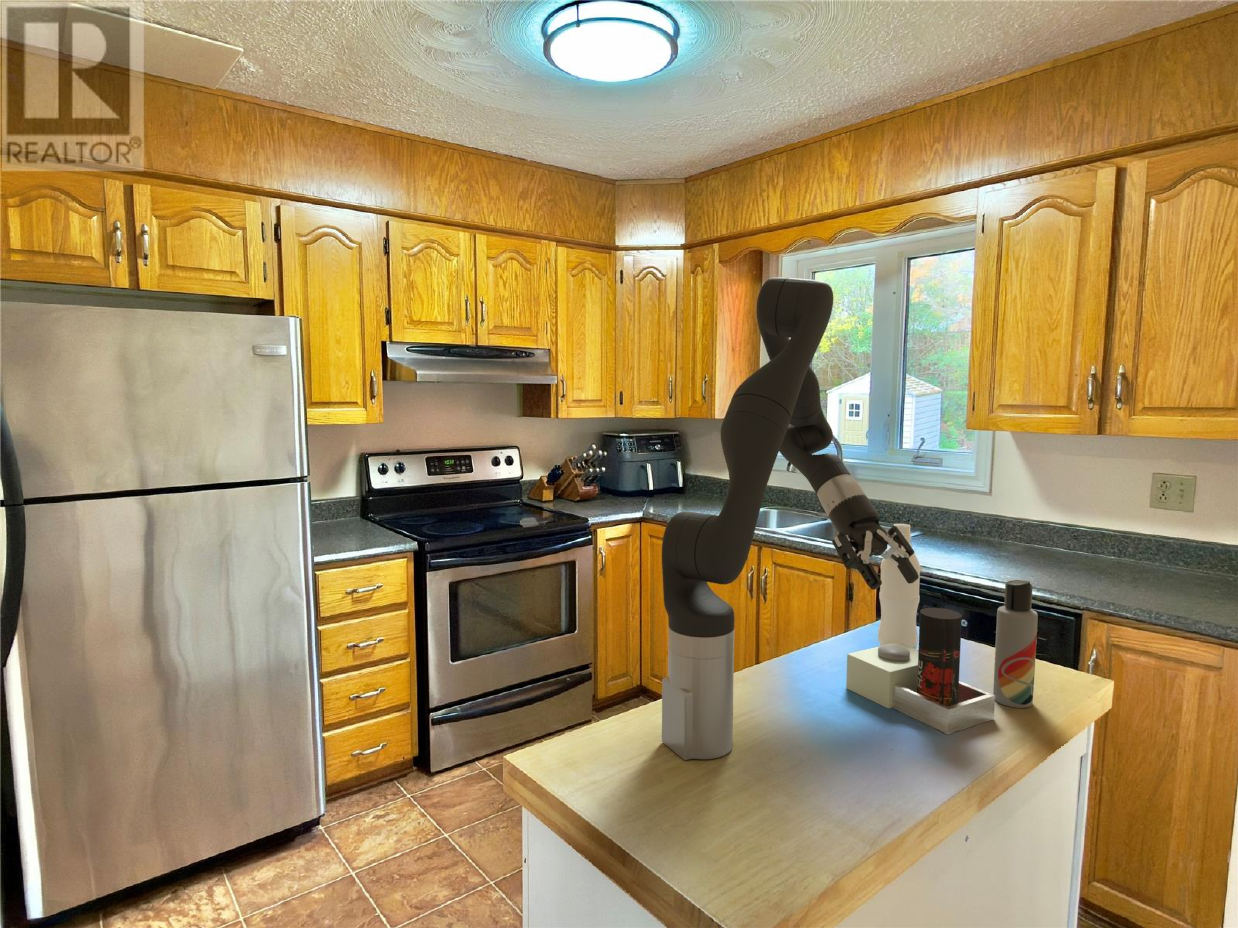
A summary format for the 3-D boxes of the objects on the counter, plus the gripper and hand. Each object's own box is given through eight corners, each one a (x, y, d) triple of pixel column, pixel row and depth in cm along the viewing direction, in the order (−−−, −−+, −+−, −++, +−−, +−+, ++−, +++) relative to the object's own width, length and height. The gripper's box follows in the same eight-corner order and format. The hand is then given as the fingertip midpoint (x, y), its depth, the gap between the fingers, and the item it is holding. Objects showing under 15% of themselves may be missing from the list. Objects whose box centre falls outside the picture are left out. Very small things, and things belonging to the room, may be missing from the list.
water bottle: (905, 662, 133) (910, 530, 130) (870, 652, 138) (874, 524, 136) (924, 653, 137) (929, 525, 135) (889, 643, 143) (894, 520, 140)
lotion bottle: (1029, 712, 112) (1037, 587, 110) (989, 702, 115) (996, 581, 114) (1035, 699, 117) (1042, 579, 115) (996, 691, 120) (1002, 574, 118)
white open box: (947, 734, 105) (948, 709, 104) (891, 707, 114) (892, 684, 113) (993, 719, 110) (995, 695, 109) (936, 694, 119) (937, 672, 118)
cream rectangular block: (888, 708, 113) (890, 666, 113) (846, 688, 121) (847, 648, 121) (939, 693, 119) (941, 653, 118) (895, 675, 127) (897, 636, 126)
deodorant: (908, 701, 114) (911, 609, 113) (938, 696, 116) (941, 606, 115) (935, 717, 108) (939, 620, 107) (966, 711, 110) (970, 616, 109)
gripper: (828, 495, 121) (878, 577, 112) (888, 490, 128) (939, 567, 119) (805, 521, 127) (852, 601, 118) (864, 515, 133) (912, 590, 124)
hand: (896, 584), depth 118 cm, fingers open, 8 cm apart
